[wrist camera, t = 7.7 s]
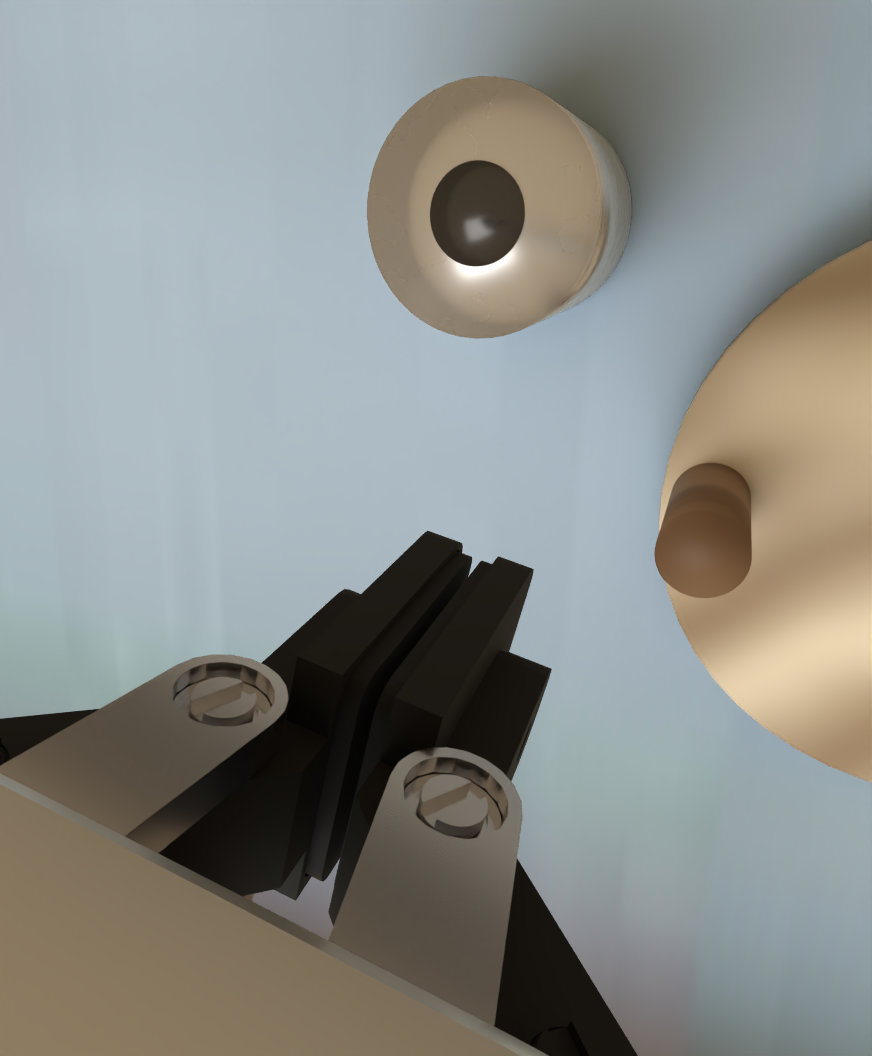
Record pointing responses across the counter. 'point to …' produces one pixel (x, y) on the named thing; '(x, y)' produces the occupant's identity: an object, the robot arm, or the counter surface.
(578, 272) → the silver rounded piece
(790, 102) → the counter surface
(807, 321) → the turntable
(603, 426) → the counter surface
